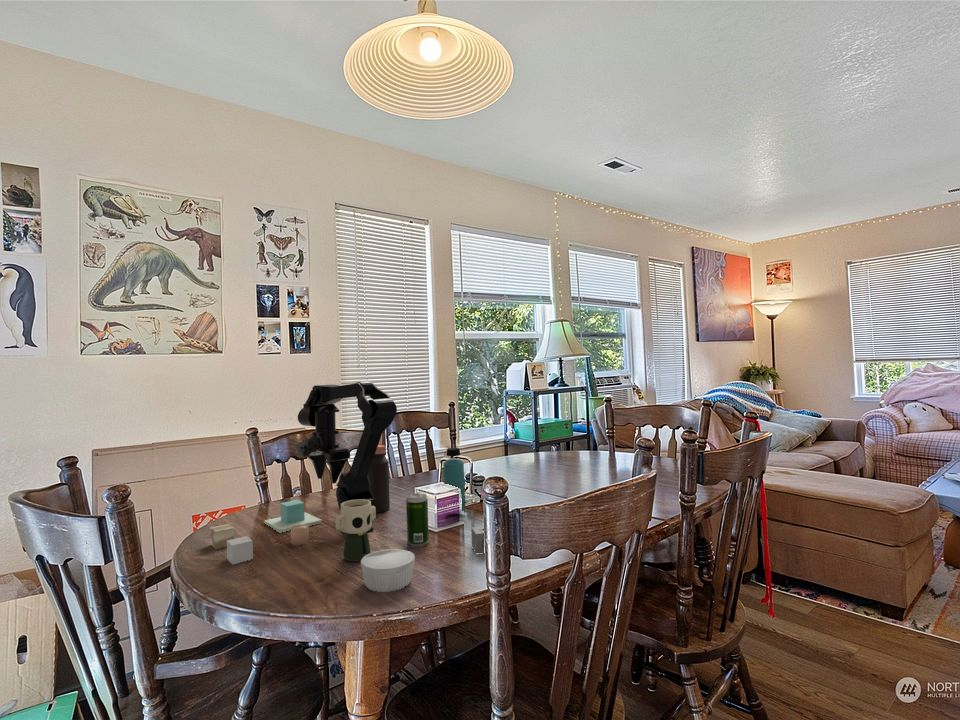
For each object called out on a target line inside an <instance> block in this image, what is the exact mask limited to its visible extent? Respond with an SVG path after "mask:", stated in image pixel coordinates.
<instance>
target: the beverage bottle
mask: <svg viewBox="0 0 960 720" xmlns="http://www.w3.org/2000/svg"><path fill="white" fill-rule="evenodd" d="M445 453H446V456H447V457H459V456H461V450H460V448H459V447H449V448H447V449H446V452H445ZM442 464H443V485H444V484H449V485H452V486H455V487H458V488H460V489H461V494H462V512H465V510H466V504H467V503H466V490H465V487H466V486H465V478H466V475H465V462H464V461H463V460H462V459H461V458H447V459H446V460H445V461H444V462H443V463H442Z"/></svg>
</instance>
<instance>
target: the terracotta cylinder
mask: <svg viewBox="0 0 960 720" xmlns="http://www.w3.org/2000/svg"><path fill="white" fill-rule="evenodd" d="M309 527H310V526H308V525H306V524H300V525H295V526H292V527H291V531H290V544H291V546H302V544H303V545H306V544H308V543H309V542H310V537H309V536H310V533H309V532H310V531H309ZM307 542H308V543H307ZM305 543H306V544H305Z"/></svg>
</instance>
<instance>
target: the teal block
mask: <svg viewBox="0 0 960 720" xmlns="http://www.w3.org/2000/svg"><path fill="white" fill-rule="evenodd" d="M304 512H305V502H303V501H301V500H300V499H294V500H291V501H290V500H289V501H284V502H280V517H281V521H283V522H285V523H287V524H290V523H294V522H298V521H303V520H305V513H304Z"/></svg>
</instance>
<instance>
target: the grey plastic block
mask: <svg viewBox="0 0 960 720" xmlns="http://www.w3.org/2000/svg"><path fill="white" fill-rule="evenodd" d="M253 544H254V543H253V540H252V539H251V538H249V536H247V535H245V536H242V537H241V536H240V537H236V538H234V539H232V540H228V541H227V547H226V560H227V561H228V562H229V563H230V564H231V565H236V564H240V562H241V563H244V562H248V561H251V559H252V560H254V554H253V553H254V552H253V551H254V545H253ZM247 560H248V561H247ZM243 561H244V562H243Z"/></svg>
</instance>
